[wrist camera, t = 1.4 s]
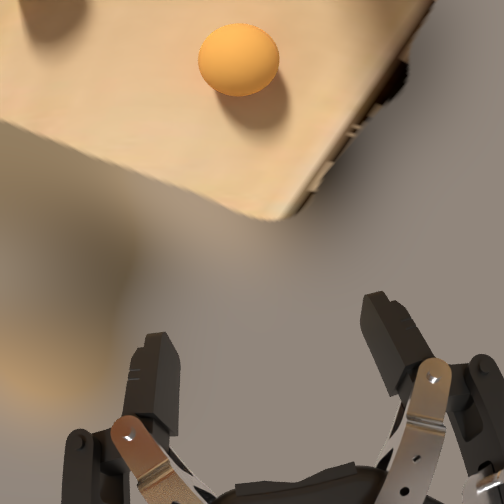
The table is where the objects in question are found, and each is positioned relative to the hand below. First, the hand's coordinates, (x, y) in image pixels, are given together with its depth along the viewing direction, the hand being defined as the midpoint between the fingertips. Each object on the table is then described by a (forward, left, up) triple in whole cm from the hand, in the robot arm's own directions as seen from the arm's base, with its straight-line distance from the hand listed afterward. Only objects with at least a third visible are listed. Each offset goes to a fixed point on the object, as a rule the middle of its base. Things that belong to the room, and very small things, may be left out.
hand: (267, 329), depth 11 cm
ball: (-10, +2, -14) cm, 17 cm away
